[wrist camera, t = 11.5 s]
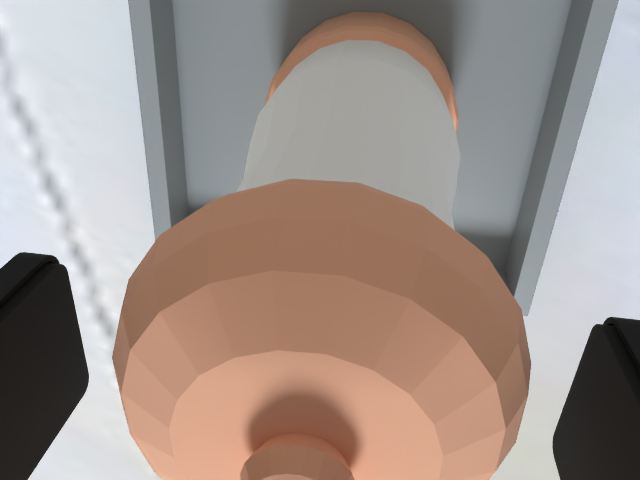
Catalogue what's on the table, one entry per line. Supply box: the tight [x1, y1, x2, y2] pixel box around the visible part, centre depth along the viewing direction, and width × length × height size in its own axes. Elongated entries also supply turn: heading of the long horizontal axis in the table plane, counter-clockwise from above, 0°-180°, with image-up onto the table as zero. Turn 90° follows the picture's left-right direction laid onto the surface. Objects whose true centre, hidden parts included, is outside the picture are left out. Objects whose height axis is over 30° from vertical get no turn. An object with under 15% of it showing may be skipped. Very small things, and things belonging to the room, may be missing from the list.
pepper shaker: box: [112, 12, 531, 480], centre depth 16 cm, size 7×7×19 cm
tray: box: [128, 0, 619, 316], centre depth 23 cm, size 17×17×3 cm
